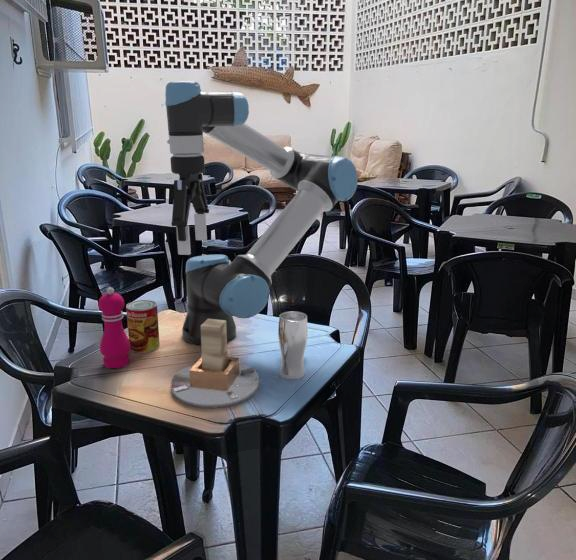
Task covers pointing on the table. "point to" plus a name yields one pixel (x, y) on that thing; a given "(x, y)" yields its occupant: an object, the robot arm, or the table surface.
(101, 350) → the pepper mill
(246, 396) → the rosette plate
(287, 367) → the beer glass
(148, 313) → the canned food
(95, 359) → the table surface
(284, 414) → the table surface
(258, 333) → the table surface
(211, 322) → the wedge pin
